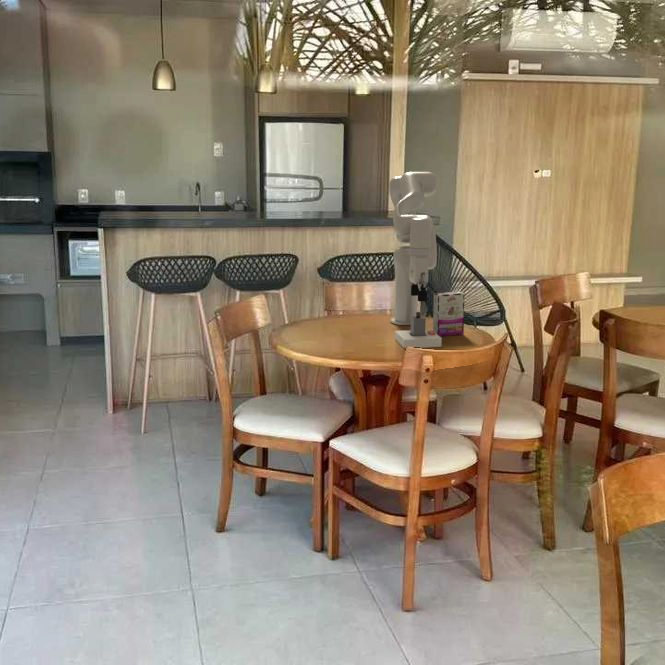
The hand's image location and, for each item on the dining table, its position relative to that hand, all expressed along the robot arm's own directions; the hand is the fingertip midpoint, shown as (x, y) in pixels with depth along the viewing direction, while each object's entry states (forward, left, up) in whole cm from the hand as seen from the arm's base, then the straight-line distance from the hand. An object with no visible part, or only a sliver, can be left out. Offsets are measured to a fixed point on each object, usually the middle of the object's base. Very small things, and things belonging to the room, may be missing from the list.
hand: (418, 298), depth 281 cm
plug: (0, 0, -16) cm, 16 cm away
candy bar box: (-11, +15, -17) cm, 25 cm away
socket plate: (0, 0, -17) cm, 17 cm away
